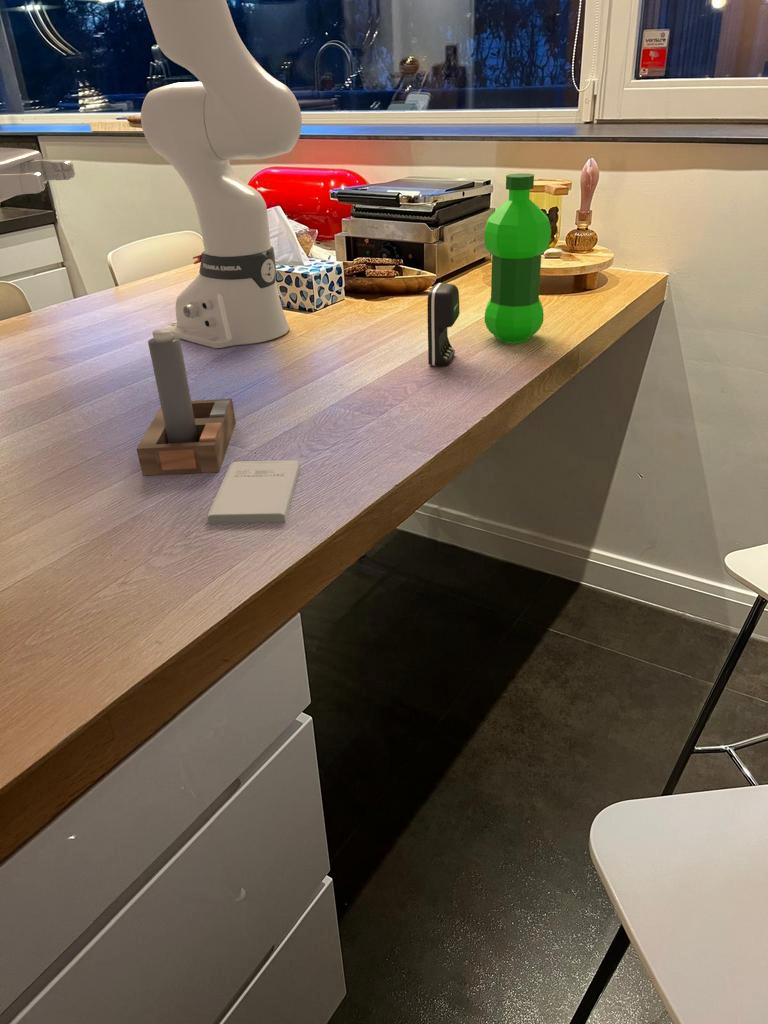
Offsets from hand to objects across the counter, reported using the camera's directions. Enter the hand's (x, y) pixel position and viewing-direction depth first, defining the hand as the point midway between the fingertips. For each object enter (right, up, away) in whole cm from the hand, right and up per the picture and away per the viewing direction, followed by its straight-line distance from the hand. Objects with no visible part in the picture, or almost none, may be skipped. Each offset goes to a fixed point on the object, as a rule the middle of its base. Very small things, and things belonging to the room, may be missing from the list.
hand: (57, 176), depth 82 cm
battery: (+44, -12, +39) cm, 60 cm away
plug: (+11, -29, +12) cm, 33 cm away
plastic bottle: (+56, -7, +47) cm, 73 cm away
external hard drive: (+20, -34, +5) cm, 40 cm away
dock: (+11, -28, +15) cm, 33 cm away
